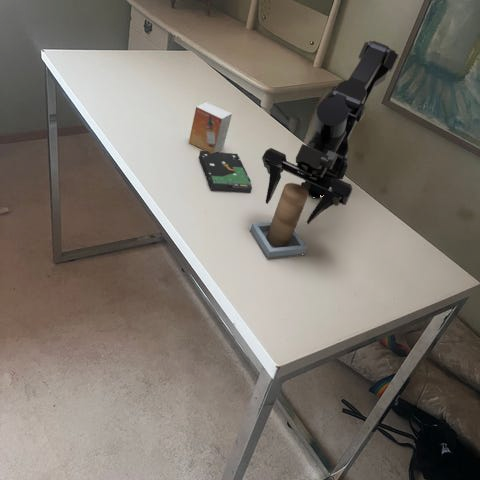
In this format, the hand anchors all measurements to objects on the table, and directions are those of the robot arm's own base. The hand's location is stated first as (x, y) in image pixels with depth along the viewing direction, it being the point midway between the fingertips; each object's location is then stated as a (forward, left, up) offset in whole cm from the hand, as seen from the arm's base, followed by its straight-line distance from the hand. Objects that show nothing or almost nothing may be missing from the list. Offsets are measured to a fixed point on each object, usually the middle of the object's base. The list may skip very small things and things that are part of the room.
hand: (286, 213), depth 91 cm
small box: (+1, -41, -9) cm, 42 cm away
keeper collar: (-1, -1, -9) cm, 9 cm away
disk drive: (+1, -27, -9) cm, 29 cm away
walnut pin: (-1, -1, -8) cm, 8 cm away
